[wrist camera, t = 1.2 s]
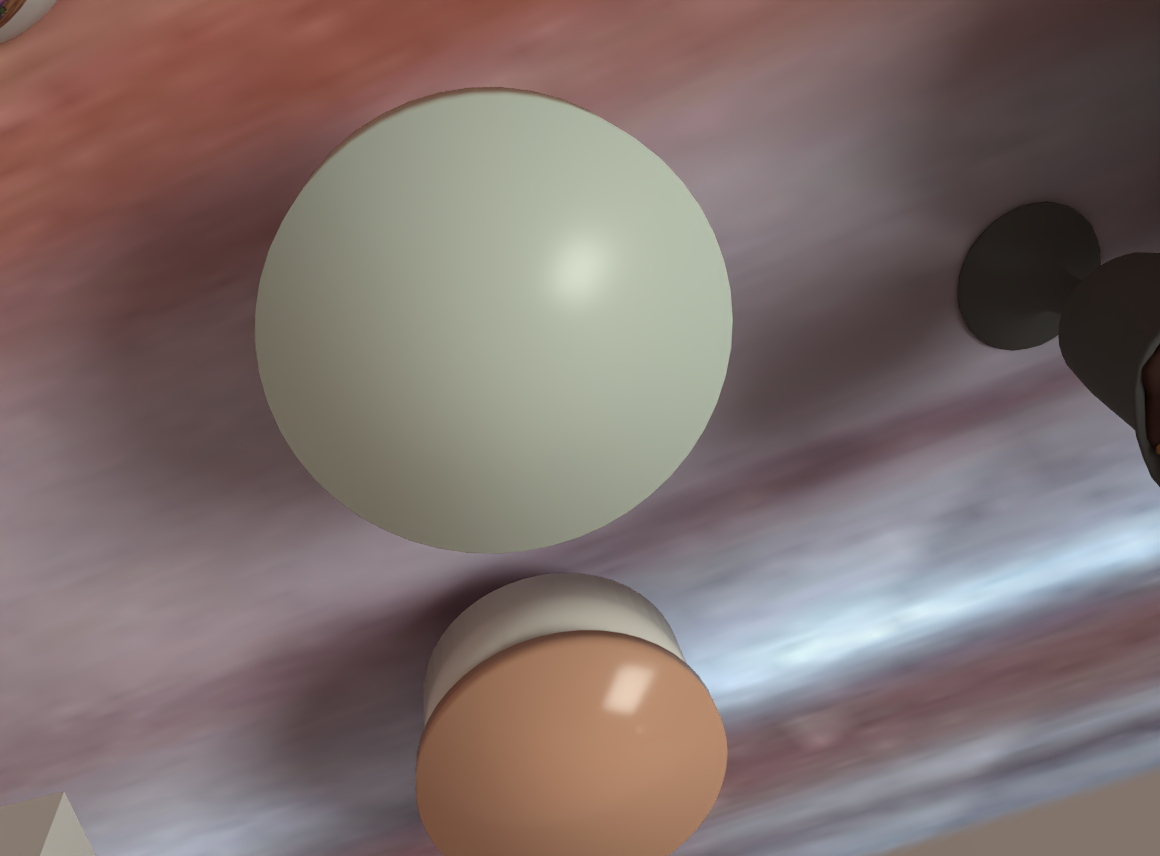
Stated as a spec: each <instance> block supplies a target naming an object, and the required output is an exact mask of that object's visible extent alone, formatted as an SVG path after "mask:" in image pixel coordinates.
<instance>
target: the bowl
mask: <svg viewBox="0 0 1160 856" xmlns="http://www.w3.org/2000/svg"><path fill="white" fill-rule="evenodd" d="M423 705H424V731H423V733H422V735H421V738H420V742H419V747H418V751H417V757H416V796H417V806H418V809H419V813H420V817H421V820H422V823H423V825H424V827H425V829H426V831H427V833H428V835H429V837H430V838H431V840H432V841H433V843H434V844H435V846H436V847H437V848H438V849H439V851H440V852H441V853H442V854H443V855H444V856H668V855H670V854H671V853H672V852H674V851H675V850H676V849H677V848H678V847H679V846H680V845H682V844H683V843H684V842H685V841H686V840H687V839H688V838H689V837H690V836H691V835H692V834H693V833H694V831H695V830H696V829H697V828H698V827H699V826H700V824H701V823H702V822H703V820H704V819H705V817H706V816H707V815H708V813H709V812H710V810H711V808H712V806H713V804H714V802H715V801H716V799H717V796H718V794H719V791H720V789H721V786H722V783H723V779H724V775H725V771H726V765H727V742H726V734H725V730H724V727H723V723H722V720H721V717H720V715H719V713H718V711H717V708H716V706H715V704H714V702H713V699H712V697H711V695H710V693H709V691H708V689H707V687H706V686H705V684H704V683H703V682H702V680H701V679H700V677H699V676H698V675H697V674H696V673H695V672H694V671H693V669H692V668H691V667H690V666H689V665H688V664H687V663H686V660H685V658H684V656H683V653H682V651H681V649H680V646H679V644H678V642H677V639H676V637H675V635H674V633H673V631H672V629H671V627H670V625H669V623H668V622H667V620H666V619H665V617H664V616H663V614H662V613H661V612H660V611H659V610H658V609H657V608H656V607H655V606H654V605H653V604H652V603H651V602H650V601H649V600H647V599H646V598H645V597H644V596H642V595H641V594H640V593H638V592H636V591H634V590H633V589H631V588H629V587H627V586H625V585H623V584H620V583H618V582H615V581H613V580H610V579H606V578H602V577H599V576H594V575H587V574H580V573H556V574H545V575H539V576H535V577H530V578H525V579H522V580H519V581H516V582H513V583H510V584H507V585H505V586H503V587H501V588H499V589H497V590H494V591H492V592H491V593H489V594H487V595H486V596H484V597H482V598H481V599H479V600H477V601H476V602H475V603H473V604H472V605H471V606H469V607H468V608H467V609H466V610H464V611H463V612H462V613H461V614H460V615H459V616H458V617H457V618H456V619H455V620H454V621H453V622H452V623H451V624H450V626H449V627H448V628H447V629H446V631H445V632H444V633H443V635H442V636H441V637H440V639H439V641H438V643H437V644H436V646H435V648H434V650H433V652H432V654H431V657H430V659H429V662H428V665H427V669H426V673H425V677H424V688H423Z"/></svg>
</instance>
